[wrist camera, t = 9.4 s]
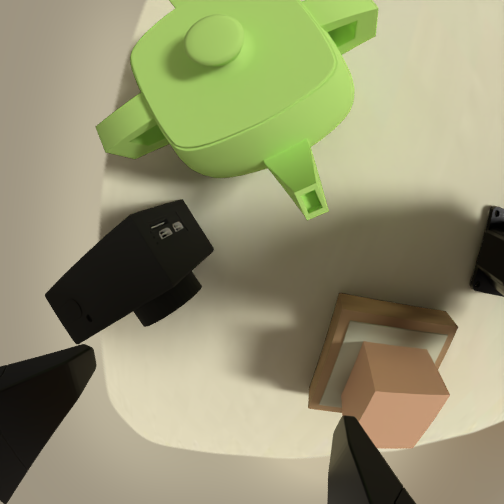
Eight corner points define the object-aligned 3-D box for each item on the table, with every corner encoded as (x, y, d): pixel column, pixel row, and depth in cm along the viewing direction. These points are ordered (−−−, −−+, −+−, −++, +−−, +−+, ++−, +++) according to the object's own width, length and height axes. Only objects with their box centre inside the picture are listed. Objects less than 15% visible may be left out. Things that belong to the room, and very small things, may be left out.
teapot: (157, 156, 20) (58, 158, 11) (203, 15, 16) (139, -55, 7) (319, 204, 19) (331, 241, 10) (365, 49, 15) (403, -30, 6)
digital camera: (131, 317, 24) (85, 360, 18) (97, 265, 23) (42, 296, 17) (224, 263, 21) (187, 306, 14) (183, 198, 20) (128, 214, 14)
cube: (400, 400, 19) (412, 448, 14) (341, 395, 19) (344, 446, 15) (426, 349, 17) (450, 395, 12) (363, 340, 18) (375, 391, 13)
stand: (445, 311, 19) (459, 327, 16) (403, 398, 22) (409, 418, 19) (339, 292, 20) (342, 309, 18) (309, 387, 23) (307, 409, 20)
